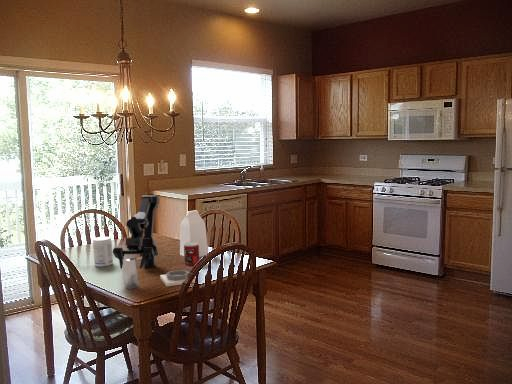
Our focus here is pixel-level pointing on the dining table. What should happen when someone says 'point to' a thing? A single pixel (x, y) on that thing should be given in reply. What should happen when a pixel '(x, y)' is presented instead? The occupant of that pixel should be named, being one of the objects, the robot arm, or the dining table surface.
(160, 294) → the dining table surface
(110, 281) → the dining table surface
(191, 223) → the milk
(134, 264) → the tube
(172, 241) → the dining table surface
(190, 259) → the canned food
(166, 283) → the flange plate
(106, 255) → the supplement tub
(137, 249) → the robot arm
